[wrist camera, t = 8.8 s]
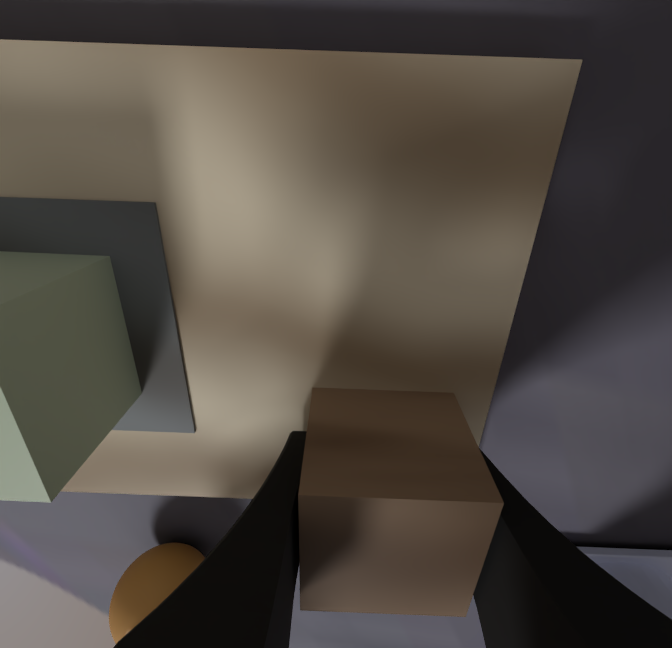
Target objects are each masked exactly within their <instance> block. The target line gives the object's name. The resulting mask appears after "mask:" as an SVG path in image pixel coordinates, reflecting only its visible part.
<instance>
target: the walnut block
mask: <svg viewBox="0 0 672 648" xmlns="http://www.w3.org/2000/svg"><path fill="white" fill-rule="evenodd" d="M503 505H504V502H503V500H502V497H501V495H500V493H499V491H498V489H497V487H496V484H495V482H494V480H493V478H492V476H491V473H490V471H489V469H488V467H487V465H486V462H485V460H484V458H483V456H482V454H481V452H480V449H479V447H478V445H477V443H476V441H475V438H474V436H473V434H472V432H471V430H470V427H469V425H468V423H467V421H466V419H465V417H464V414H463V412H462V410H461V408H460V406H459V403H458V401H457V399H456V397H455V395H454V393H447V392H420V391H394V390H367V389H341V388H314V387H312V395H311V402H310V410H309V418H308V425H307V433H306V440H305V448H304V455H303V463H302V471H301V478H300V486H299V493H298V509H299V562H300V610H306V611H332V612H357V613H382V614H407V615H432V616H457V617H466V614H467V611H468V608H469V605H470V602H471V599H472V596H473V593H474V590H475V587H476V585H477V582H478V579H479V576H480V573H481V570H482V567H483V564H484V561H485V558H486V555H487V552H488V549H489V546H490V543H491V540H492V537H493V534H494V531H495V528H496V525H497V523H498V520H499V517H500V514H501V511H502V508H503Z"/></svg>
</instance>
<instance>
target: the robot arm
mask: <svg viewBox="0 0 672 648" xmlns="http://www.w3.org/2000/svg"><path fill="white" fill-rule="evenodd" d="M306 433H307V431H292V432H291V433H290V434H289V437H288V439H287V441H286V444H285V446H284V448H283V450H282V452H281V454H280V456H279V457H278V459H277V461H276V463H275V465H274V466H273V468H272V470H271V471H270V473H269V475H268V476H267V478H266V480H265V481H264V483H263V484H262V486H261V488H260V489H259V490H258V492H257V493H256V495H255V496H254V498H253V499H252V501H251V502H250V504H249V505H248V506H247V508H246V509H245V511H244V512H243V513H242V515H241V516H240V517H239V519H238V520H237V521H236V523H235V524H234V525H233V526H232V528H231V529H230V530H229V531H228V533H227V534H226V535H225V536H224V537H223V539H222V540H221V541H220V542H219V543H218V544H217V545H216V547H215V548H214V549H213V550H212V551H211V552H210V554H209V555H208V556H207V557H206V558H205V559H204V560H203V561H202V562H201V563H200V565H199V566H198V567H197V568H196V569H195V570H194V571H193V572H192V573H191V574H190V575H189V576H188V577H187V578H186V579H185V580H184V581H183V582H182V583H181V584H180V585H179V586H178V587H177V588H176V589H175V590H174V591H173V592H172V593H171V594H170V595H169V596H168V597H167V598H166V599H165V600H164V601H163V602H162V603H161V604H160V605H158V606H157V607H156V608H155V609H154V610H153V611H152V612H151V613H150V614H148V615H147V616H146V617H145V618H144V619H143V620H142V621H141V622H140V623H138V624H137V625H136V626H135V627H134V628H133V629H132V630H131V631H129V632H128V633H127V634H126V635H125V636H124V637H123V638H122V639H120V640H119V641H118V642H117V643H116V645H115V646H114V648H289V639H290V629H291V619H292V609H293V599H294V592H295V585H296V578H297V573H298V567H299V509H298V493H299V486H300V478H301V471H302V463H303V455H304V448H305V440H306ZM479 449H480V448H479ZM480 452H481V454H482V456H483V458H484V460H485V462H486V465H487V467H488V469H489V471H490V473H491V476H492V478H493V480H494V482H495V484H496V487H497V489H498V491H499V493H500V495H501V497H502V500H503V502H504V505H503V508H502V511H501V514H500V517H499V520H498V523H497V525H496V528H495V531H494V534H493V537H492V540H491V543H490V546H489V549H488V552H487V555H486V558H485V561H484V564H483V567H482V570H481V573H480V576H479V579H478V582H477V585H476V587H475V590H474V593H473V595H474V599H475V602H476V606H477V610H478V614H479V619H480V623H481V627H482V632H483V636H484V640H485V645H486V648H672V550H653V549H628V548H602V547H577V546H575V545H574V544H573V543H572V542H570V541H569V540H568V539H567V538H566V537H565V536H563V535H562V534H561V533H560V532H559V531H558V530H557V529H556V528H555V527H554V526H552V525H551V524H550V523H549V522H548V521H547V520H546V519H545V518H544V517H543V516H542V515H541V514H540V513H539V512H538V511H537V510H536V509H535V508H534V507H533V506H532V505H531V504H530V503H529V502H528V501H527V500H526V499H525V498H524V497H523V496H522V495H521V494H520V493H519V492H518V491H517V490H516V489H515V487H514V486H513V485H512V484H511V483H510V482H509V481H508V480H507V479H506V478H505V477H504V476H503V474H502V473H501V472H500V471H499V470H498V469H497V468H496V467H495V466H494V464H493V463H492V462H491V461H490V460H489V459H488V458H487V456H486V455H485V454H484V453H483V452H482V451H481V450H480Z"/></svg>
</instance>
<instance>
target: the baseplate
mask: <svg viewBox="0 0 672 648" xmlns="http://www.w3.org/2000/svg"><path fill="white" fill-rule="evenodd" d="M581 64H582V60H579V59H550V58H521V57H493V56H464V55H435V54H406V53H377V52H348V51H320V50H291V49H262V48H233V47H204V46H175V45H147V44H118V43H89V42H60V41H31V40H3V39H0V251H6V252H29V253H52V254H75V255H98V256H110V259H111V264H112V268H113V272H114V276H115V281H116V285H117V289H118V293H119V298H120V302H121V306H122V310H123V315H124V319H125V323H126V327H127V332H128V336H129V340H130V344H131V349H132V353H133V357H134V361H135V366H136V370H137V374H138V378H139V383H140V387H141V391H142V394H141V395H140V396H139V398H138V399H137V400H136V401H135V402H134V404H133V405H132V406H131V407H130V408H129V410H128V411H127V412H126V413H125V414H124V416H123V417H122V418H121V419H120V420H119V422H118V423H117V424H116V425H115V426H114V428H113V429H112V430H111V431H110V432H109V434H108V435H107V436H106V437H105V438H104V440H103V441H102V442H101V443H100V444H99V446H98V447H97V448H96V449H95V450H94V452H93V453H92V454H91V455H90V456H89V457H88V459H87V460H86V461H85V462H84V463H83V465H82V466H81V467H80V468H79V469H78V471H77V472H76V473H75V474H74V475H73V477H72V478H71V479H70V480H69V481H68V483H67V484H66V485H65V486H64V487H63V489H62V490H61V491H65V492H91V493H117V494H142V495H168V496H194V497H220V498H246V499H253V498H254V496H255V495H256V493H257V492H258V490H259V489H260V488H261V486H262V484H263V483H264V481H265V480H266V478H267V476H268V475H269V473H270V471H271V470H272V468H273V466H274V465H275V463H276V461H277V459H278V457H279V456H280V454H281V452H282V450H283V448H284V446H285V444H286V441H287V439H288V437H289V434H290V433H291V432H292V431H307V425H308V418H309V410H310V402H311V395H312V387H314V388H341V389H367V390H394V391H420V392H447V393H454V395H455V397H456V399H457V401H458V403H459V406H460V408H461V410H462V412H463V414H464V417H465V419H466V421H467V423H468V425H469V427H470V430H471V432H472V434H473V436H474V438H475V441H476V443H477V445H478V447H479V444H480V440H481V437H482V433H483V429H484V426H485V422H486V418H487V414H488V411H489V407H490V403H491V399H492V396H493V392H494V388H495V385H496V381H497V377H498V373H499V370H500V366H501V362H502V358H503V355H504V351H505V347H506V344H507V340H508V336H509V332H510V329H511V325H512V321H513V317H514V314H515V310H516V306H517V303H518V299H519V295H520V291H521V288H522V284H523V280H524V276H525V273H526V269H527V265H528V262H529V258H530V254H531V250H532V247H533V243H534V239H535V235H536V232H537V228H538V224H539V221H540V217H541V213H542V209H543V206H544V202H545V198H546V194H547V191H548V187H549V183H550V180H551V176H552V172H553V168H554V165H555V161H556V157H557V154H558V150H559V146H560V142H561V139H562V135H563V131H564V127H565V124H566V120H567V116H568V113H569V109H570V105H571V101H572V98H573V94H574V90H575V86H576V83H577V79H578V75H579V72H580V68H581Z"/></svg>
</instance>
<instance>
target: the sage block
mask: <svg viewBox="0 0 672 648" xmlns="http://www.w3.org/2000/svg"><path fill="white" fill-rule="evenodd" d="M141 394H142V391H141V387H140V383H139V378H138V374H137V370H136V366H135V361H134V357H133V353H132V349H131V344H130V340H129V336H128V332H127V327H126V323H125V319H124V315H123V310H122V306H121V302H120V298H119V293H118V289H117V285H116V281H115V276H114V272H113V268H112V264H111V259H110V256H98V255H75V254H52V253H29V252H6V251H0V500H8V501H31V502H52V501H53V499H54V498H55V497H56V496H57V495H58V493H59V492H60V491H61V490H62V489H63V487H64V486H65V485H66V484H67V483H68V481H69V480H70V479H71V478H72V477H73V475H74V474H75V473H76V472H77V471H78V469H79V468H80V467H81V466H82V465H83V463H84V462H85V461H86V460H87V459H88V457H89V456H90V455H91V454H92V453H93V452H94V450H95V449H96V448H97V447H98V446H99V444H100V443H101V442H102V441H103V440H104V438H105V437H106V436H107V435H108V434H109V432H110V431H111V430H112V429H113V428H114V426H115V425H116V424H117V423H118V422H119V420H120V419H121V418H122V417H123V416H124V414H125V413H126V412H127V411H128V410H129V408H130V407H131V406H132V405H133V404H134V402H135V401H136V400H137V399H138V398H139V396H140V395H141Z"/></svg>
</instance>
